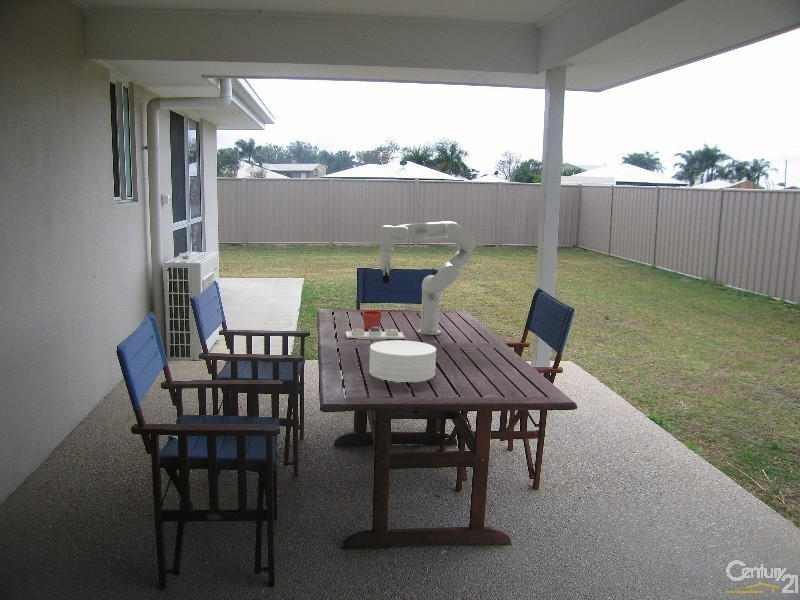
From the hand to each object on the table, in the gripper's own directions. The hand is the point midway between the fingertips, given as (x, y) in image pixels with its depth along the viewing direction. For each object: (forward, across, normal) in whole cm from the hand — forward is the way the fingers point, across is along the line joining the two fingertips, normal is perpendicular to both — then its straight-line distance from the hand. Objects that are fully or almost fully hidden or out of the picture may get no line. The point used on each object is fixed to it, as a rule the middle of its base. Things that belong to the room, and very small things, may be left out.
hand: (385, 282), depth 375 cm
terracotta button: (+25, +12, -15) cm, 32 cm away
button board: (+27, +12, -6) cm, 30 cm away
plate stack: (+28, +84, -1) cm, 88 cm away
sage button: (+25, +12, +3) cm, 28 cm away
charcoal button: (+24, +12, -6) cm, 28 cm away
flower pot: (+27, -7, -6) cm, 29 cm away
